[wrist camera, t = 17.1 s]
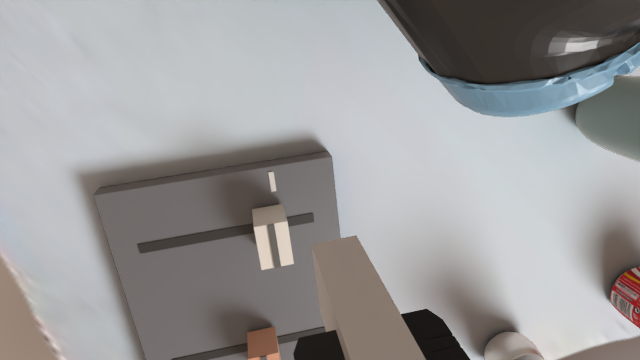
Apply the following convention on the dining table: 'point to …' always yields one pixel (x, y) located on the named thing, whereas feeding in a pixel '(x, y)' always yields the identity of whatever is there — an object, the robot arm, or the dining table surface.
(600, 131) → the cup
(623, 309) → the soda can
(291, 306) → the fader panel
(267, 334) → the terracotta fader
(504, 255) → the dining table surface
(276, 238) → the white fader
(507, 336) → the plastic bottle
